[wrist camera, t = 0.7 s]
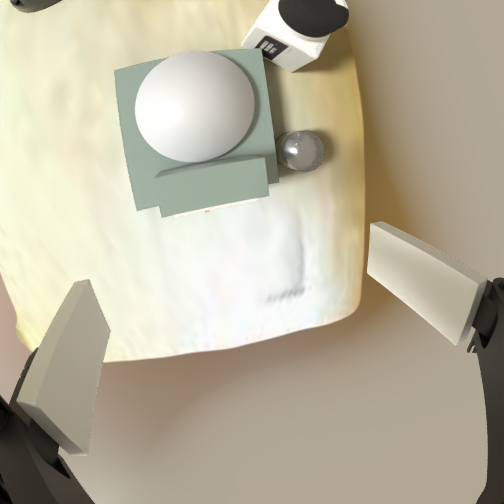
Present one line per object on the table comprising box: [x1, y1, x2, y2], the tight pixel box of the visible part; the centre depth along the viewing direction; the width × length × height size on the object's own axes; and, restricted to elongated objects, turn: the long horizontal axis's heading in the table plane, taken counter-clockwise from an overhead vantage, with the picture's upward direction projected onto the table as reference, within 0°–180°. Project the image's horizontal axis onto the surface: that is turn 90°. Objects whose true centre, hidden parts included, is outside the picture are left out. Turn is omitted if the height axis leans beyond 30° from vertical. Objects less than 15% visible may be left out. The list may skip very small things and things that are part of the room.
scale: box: [114, 48, 279, 218], centre depth 26 cm, size 18×17×10 cm
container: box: [241, 0, 349, 72], centre depth 22 cm, size 8×8×13 cm
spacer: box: [275, 131, 324, 172], centre depth 33 cm, size 5×5×4 cm
